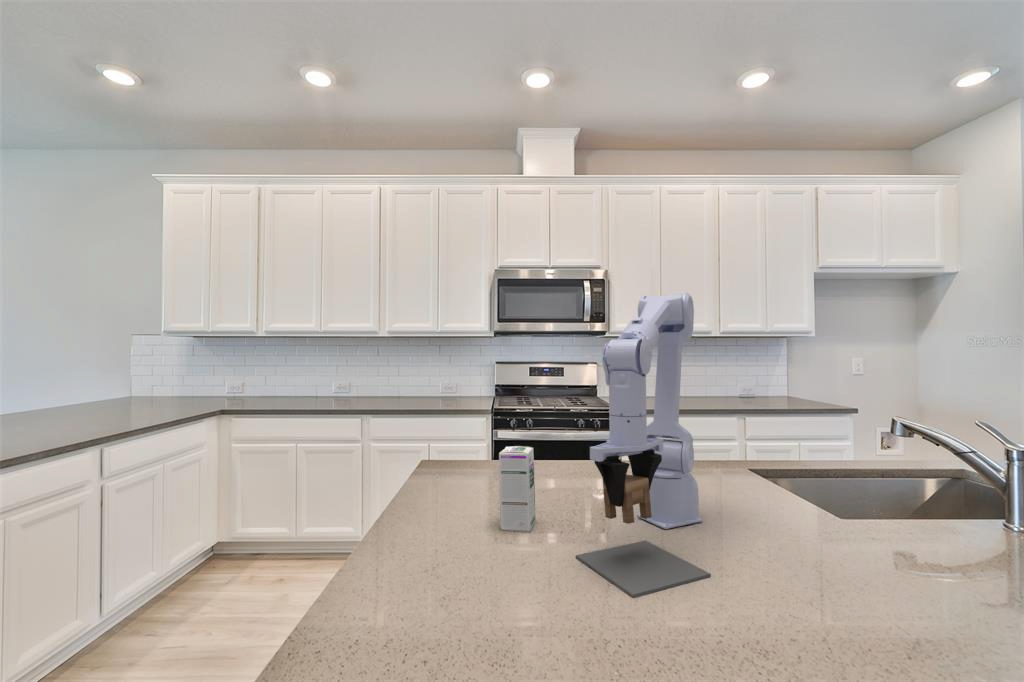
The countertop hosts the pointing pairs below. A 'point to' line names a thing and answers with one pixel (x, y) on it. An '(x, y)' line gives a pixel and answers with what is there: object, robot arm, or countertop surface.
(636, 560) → the mat
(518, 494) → the syrup box
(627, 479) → the notched brown block
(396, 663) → the countertop surface
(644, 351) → the robot arm
